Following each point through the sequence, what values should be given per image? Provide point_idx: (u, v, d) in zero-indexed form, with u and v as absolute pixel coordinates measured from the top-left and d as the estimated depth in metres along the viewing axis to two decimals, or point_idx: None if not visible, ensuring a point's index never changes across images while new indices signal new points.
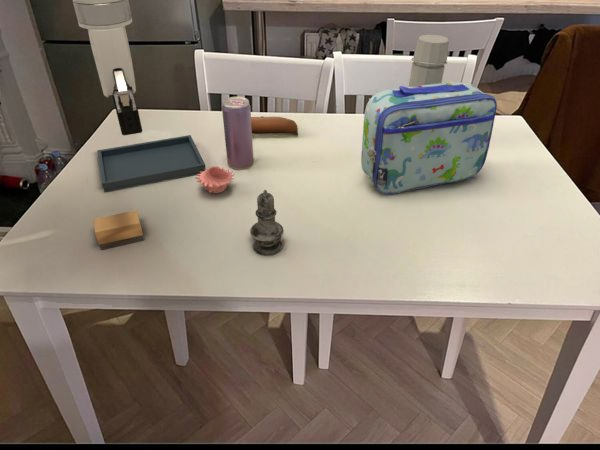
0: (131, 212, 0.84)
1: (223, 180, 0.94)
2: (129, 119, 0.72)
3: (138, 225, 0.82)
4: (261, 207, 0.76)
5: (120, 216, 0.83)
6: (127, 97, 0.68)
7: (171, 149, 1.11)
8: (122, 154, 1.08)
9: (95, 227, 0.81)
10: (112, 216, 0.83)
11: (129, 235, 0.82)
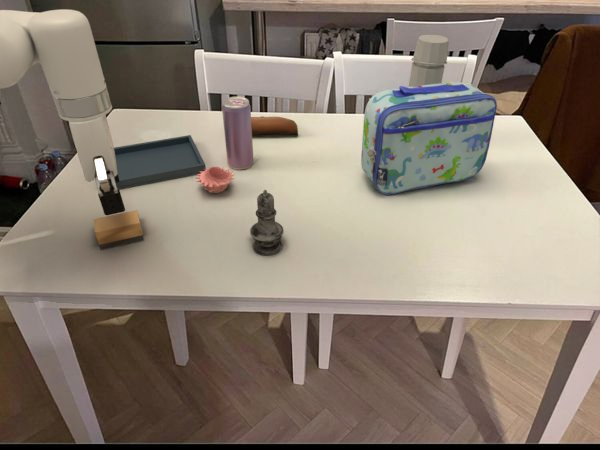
0: (131, 212, 0.84)
1: (223, 180, 0.94)
2: (111, 201, 0.73)
3: (138, 225, 0.82)
4: (261, 207, 0.76)
5: (120, 216, 0.83)
6: (107, 185, 0.69)
7: (171, 149, 1.11)
8: (122, 154, 1.08)
9: (95, 227, 0.81)
10: (112, 216, 0.83)
11: (129, 235, 0.82)
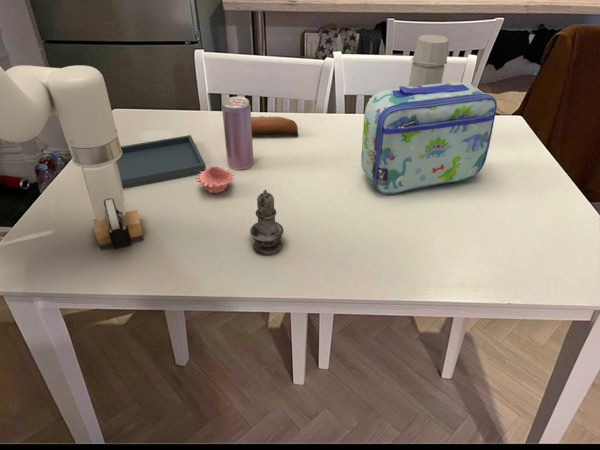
0: (131, 212, 0.84)
1: (223, 180, 0.94)
2: (119, 236, 0.80)
3: (138, 225, 0.82)
4: (261, 207, 0.76)
5: None
6: (118, 228, 0.76)
7: (171, 149, 1.11)
8: (122, 154, 1.08)
9: (95, 227, 0.81)
10: None
11: None
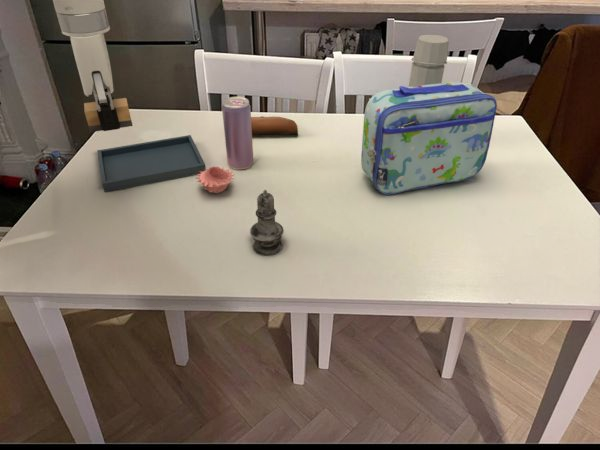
0: (120, 99, 0.87)
1: (223, 180, 0.94)
2: (108, 117, 0.84)
3: (126, 108, 0.85)
4: (261, 207, 0.76)
5: None
6: (106, 103, 0.79)
7: (171, 149, 1.11)
8: (122, 154, 1.08)
9: (85, 108, 0.84)
10: None
11: None
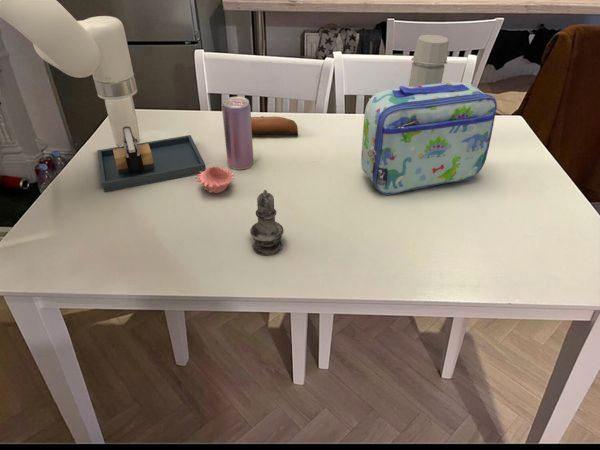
0: (144, 145, 1.02)
1: (223, 180, 0.94)
2: (134, 162, 0.98)
3: (150, 154, 1.00)
4: (261, 207, 0.76)
5: (134, 147, 1.01)
6: (134, 152, 0.94)
7: (171, 149, 1.11)
8: None
9: (115, 155, 0.98)
10: None
11: None
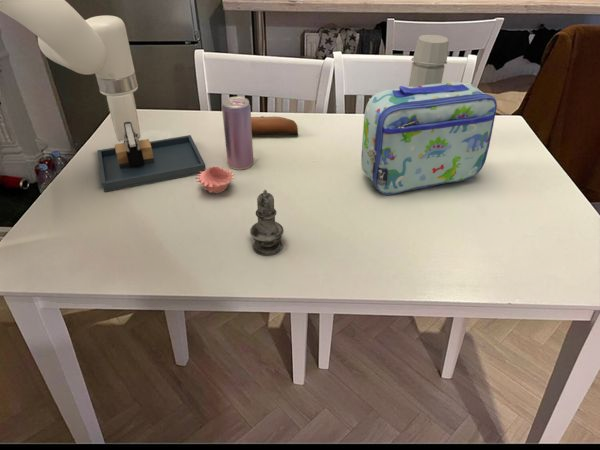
0: (144, 140, 1.05)
1: (223, 180, 0.94)
2: (135, 156, 1.02)
3: (150, 149, 1.03)
4: (261, 207, 0.76)
5: (135, 142, 1.04)
6: (135, 147, 0.97)
7: (171, 149, 1.11)
8: None
9: (116, 149, 1.02)
10: None
11: (143, 157, 1.04)
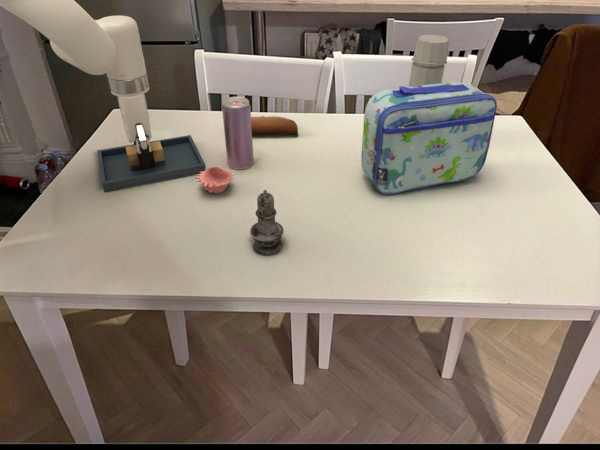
0: (155, 142, 1.05)
1: (223, 180, 0.94)
2: (146, 158, 0.98)
3: (161, 151, 1.03)
4: (261, 207, 0.76)
5: None
6: (145, 144, 0.94)
7: (171, 149, 1.11)
8: (122, 154, 1.08)
9: (127, 152, 1.01)
10: None
11: (154, 159, 1.03)
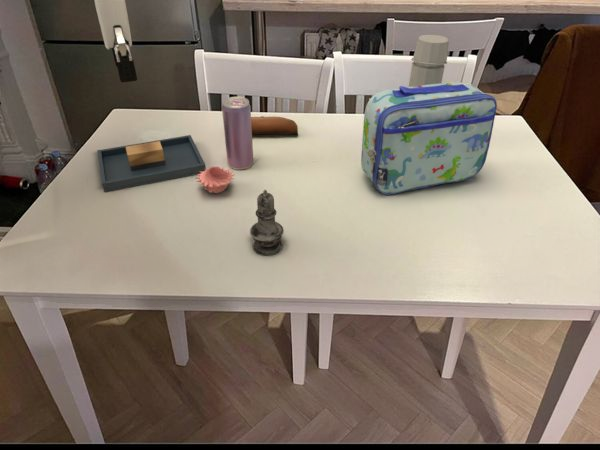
0: (155, 142, 1.05)
1: (223, 180, 0.94)
2: (126, 68, 0.89)
3: (161, 151, 1.03)
4: (261, 207, 0.76)
5: (146, 145, 1.04)
6: (124, 48, 0.85)
7: (171, 149, 1.11)
8: (122, 154, 1.08)
9: (127, 152, 1.01)
10: (140, 145, 1.04)
11: (154, 159, 1.03)
